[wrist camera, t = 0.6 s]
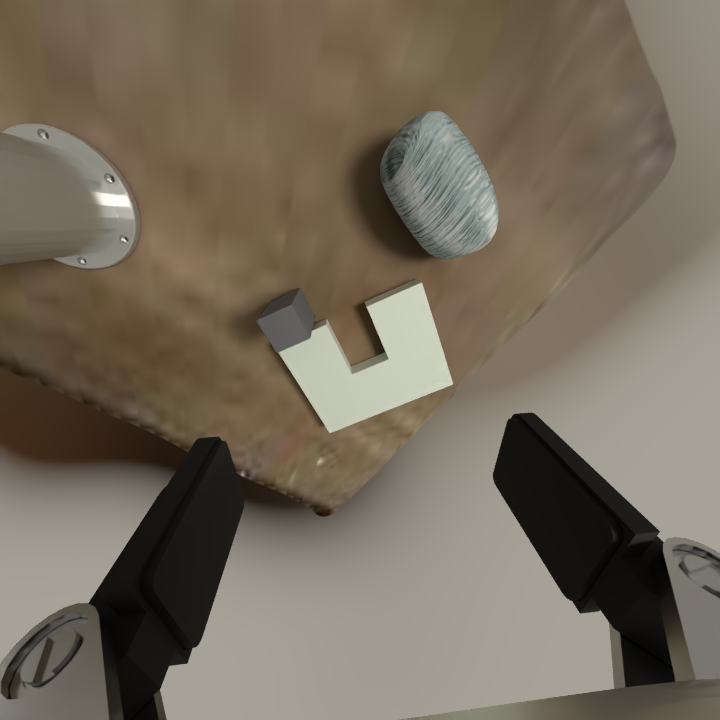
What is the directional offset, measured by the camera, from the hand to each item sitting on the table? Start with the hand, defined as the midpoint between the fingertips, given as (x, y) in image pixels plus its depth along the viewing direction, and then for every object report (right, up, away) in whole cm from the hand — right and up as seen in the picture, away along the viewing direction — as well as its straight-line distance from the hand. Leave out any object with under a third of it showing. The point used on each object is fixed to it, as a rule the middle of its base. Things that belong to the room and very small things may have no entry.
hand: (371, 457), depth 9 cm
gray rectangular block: (-9, +10, +26) cm, 29 cm away
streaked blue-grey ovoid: (+7, +22, +22) cm, 32 cm away
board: (+1, +3, +30) cm, 31 cm away
